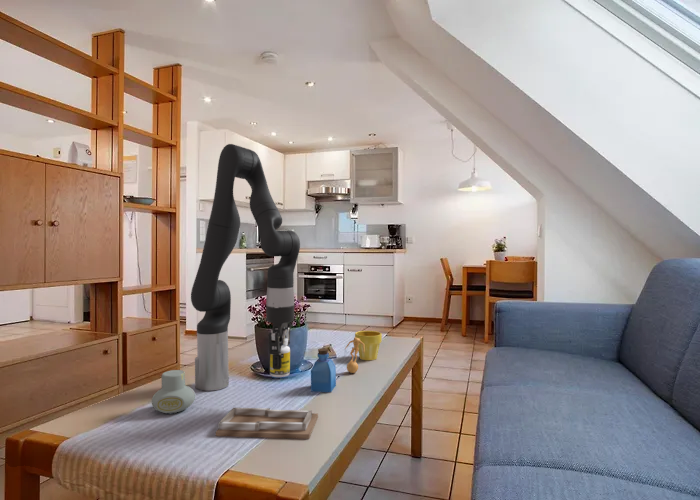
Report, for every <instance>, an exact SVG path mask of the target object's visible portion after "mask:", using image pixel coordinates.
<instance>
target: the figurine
mask: <svg viewBox="0 0 700 500" xmlns="http://www.w3.org/2000/svg"><path fill="white" fill-rule="evenodd" d="M352 343H353V347H352V349H351V350H350V352H349V353H350V354H349V355H350V356H351V359H350V360H349V362H348V363H347V364H346V369H347V372H349V373H350V374H355V373H357V372H358V370H359V364H358V363H357V358H358V354H359V352H358V351H359V348H358V346H359V344H360V343H361V344H362V345H363V349H364V350H363V352H364V353H365V347H364V346H365V345H364V343H363V342H361V341H360V339H359V338H356V337H355V336H354V337H353V339H352V340H350V341H349V342H348V343H347V344H346V346H345V348H344V350H346V349H347V348H348V347H349V346H350V344H352ZM354 357H355V358H354Z"/></svg>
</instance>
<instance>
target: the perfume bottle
mask: <svg viewBox="0 0 700 500" xmlns="http://www.w3.org/2000/svg"><path fill="white" fill-rule="evenodd" d="M329 357H330V354H329V348H327V347H325V348H323V347H322V348H318V349H317V359H316V360H315V361H314V363H313V366H312V368H311V370H310V391H311V392H316V393H317V392H318V393H332V392H333V391H334V389H335V388H336V386H337V381H336V379H337V377H336V376H337V373H336V372H337V371H336V367H337V366H336V364H335V362H334V361H333V359H332V358H329Z"/></svg>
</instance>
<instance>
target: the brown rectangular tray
mask: <svg viewBox="0 0 700 500" xmlns="http://www.w3.org/2000/svg"><path fill="white" fill-rule="evenodd" d="M318 418H319V413H315V412H314V413H313V410H299V409H298V410H297V409H296V410H295V409H271V408H269V407H268V408H267V407H266V408H263V407H259V408H258V407H232V408H231V409H230V410H229V412H228V413H227V414H226V415H225V416H224V417H223V418H222V419H221V420H220V421H219V422H218V423H217V425H218V426H217V427H218V429H217V430H216V431H215V437H237V438H238V437H239V438H266V439H267V438H270V439H271V438H272V439H274V438H275V439H299V440H300V439H303V440H305V439H306V440H309V439H310V438H311V435H312V434H313V430H314V428H315V426H316V424H317V421H318V420H319V419H318Z"/></svg>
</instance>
